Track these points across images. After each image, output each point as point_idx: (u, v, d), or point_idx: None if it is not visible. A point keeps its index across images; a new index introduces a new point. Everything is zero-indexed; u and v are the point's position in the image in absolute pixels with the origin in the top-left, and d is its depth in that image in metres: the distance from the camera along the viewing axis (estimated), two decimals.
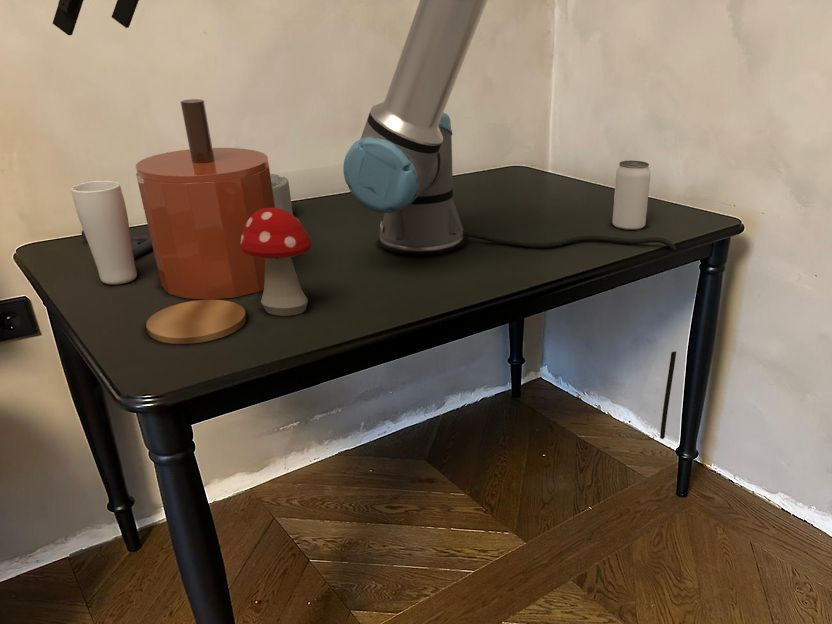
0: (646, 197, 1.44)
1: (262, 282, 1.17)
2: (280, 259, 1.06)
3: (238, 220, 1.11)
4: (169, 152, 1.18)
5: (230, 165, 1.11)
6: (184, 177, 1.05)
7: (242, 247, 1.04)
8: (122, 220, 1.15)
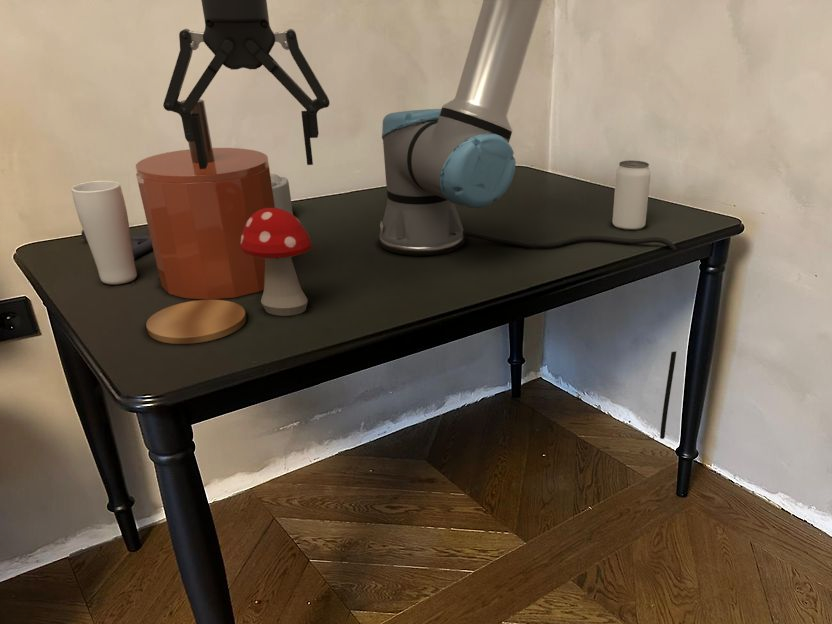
0: (646, 197, 1.44)
1: (262, 282, 1.17)
2: (280, 259, 1.06)
3: (238, 220, 1.11)
4: (169, 152, 1.18)
5: (230, 165, 1.11)
6: (184, 177, 1.05)
7: (242, 247, 1.04)
8: (122, 220, 1.15)
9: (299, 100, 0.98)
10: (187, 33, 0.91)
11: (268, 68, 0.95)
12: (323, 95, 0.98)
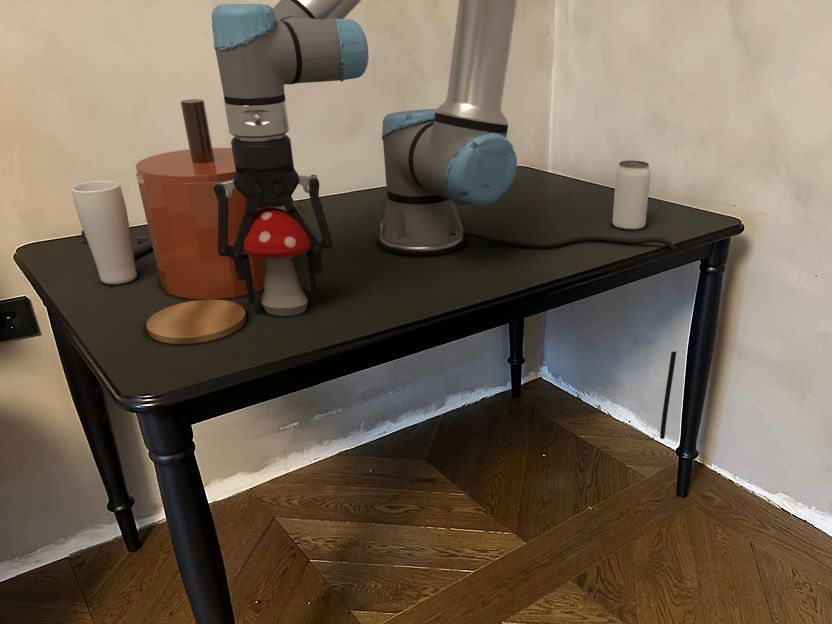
0: (646, 197, 1.44)
1: (262, 282, 1.17)
2: (280, 259, 1.06)
3: (238, 220, 1.11)
4: (169, 152, 1.18)
5: (230, 165, 1.11)
6: (184, 177, 1.05)
7: None
8: (122, 220, 1.15)
9: None
10: (220, 186, 1.00)
11: (287, 209, 1.03)
12: (329, 237, 1.07)
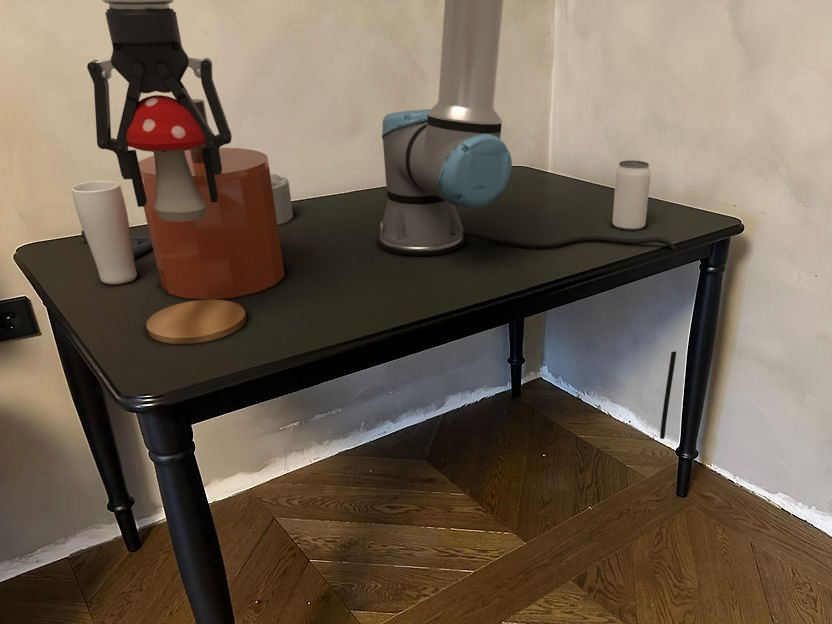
0: (646, 197, 1.44)
1: (262, 282, 1.17)
2: (170, 155, 0.94)
3: (238, 220, 1.11)
4: None
5: (230, 165, 1.11)
6: None
7: None
8: (122, 220, 1.15)
9: None
10: (94, 64, 0.88)
11: (175, 95, 0.91)
12: (226, 131, 0.95)
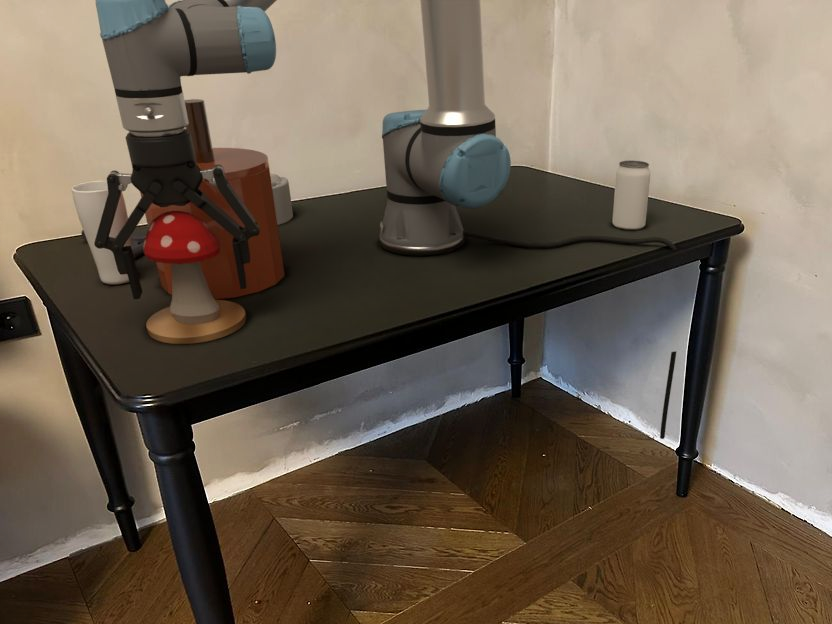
0: (646, 197, 1.44)
1: (262, 282, 1.17)
2: (186, 265, 1.01)
3: (238, 220, 1.11)
4: None
5: (230, 165, 1.11)
6: None
7: (144, 252, 0.99)
8: (122, 220, 1.15)
9: (229, 231, 1.01)
10: (114, 177, 0.94)
11: (197, 204, 0.97)
12: (253, 225, 1.01)
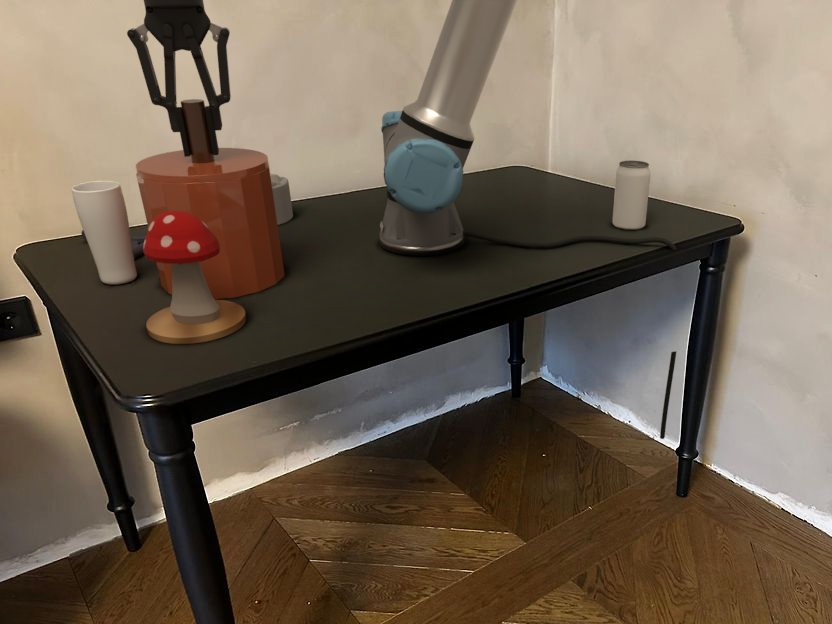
0: (646, 197, 1.44)
1: (262, 282, 1.17)
2: (186, 265, 1.01)
3: (238, 220, 1.11)
4: (169, 152, 1.18)
5: (230, 165, 1.11)
6: (184, 177, 1.05)
7: (144, 252, 0.99)
8: (122, 220, 1.15)
9: (206, 92, 1.08)
10: (132, 31, 1.02)
11: (193, 54, 1.05)
12: (227, 92, 1.09)
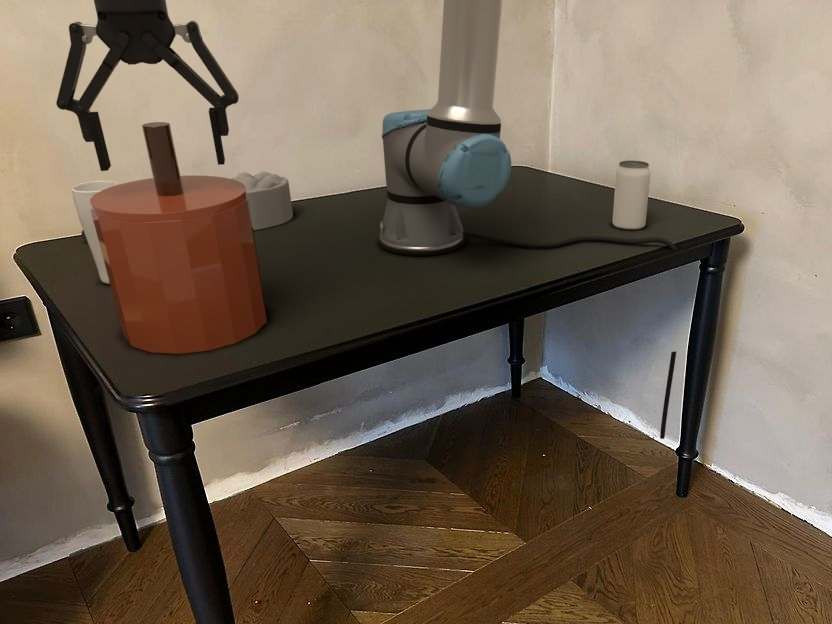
0: (646, 197, 1.44)
1: (239, 332, 1.01)
2: None
3: (210, 263, 0.95)
4: (132, 181, 1.02)
5: (201, 199, 0.95)
6: (145, 215, 0.90)
7: None
8: None
9: (205, 96, 0.92)
10: (77, 26, 0.85)
11: (169, 62, 0.89)
12: (231, 90, 0.93)
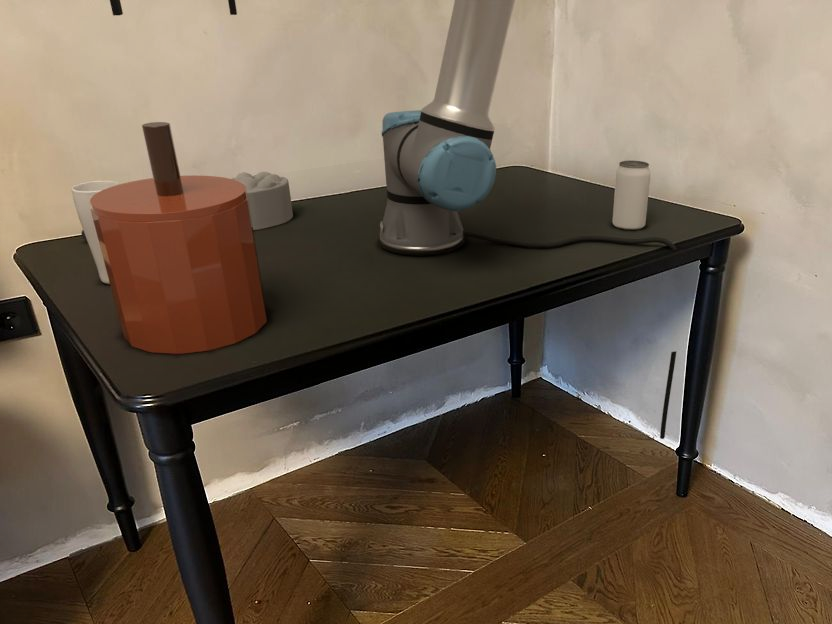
0: (646, 197, 1.44)
1: (239, 332, 1.01)
2: None
3: (210, 263, 0.95)
4: (132, 181, 1.02)
5: (201, 199, 0.95)
6: (145, 215, 0.90)
7: None
8: None
9: None
10: None
11: None
12: None
